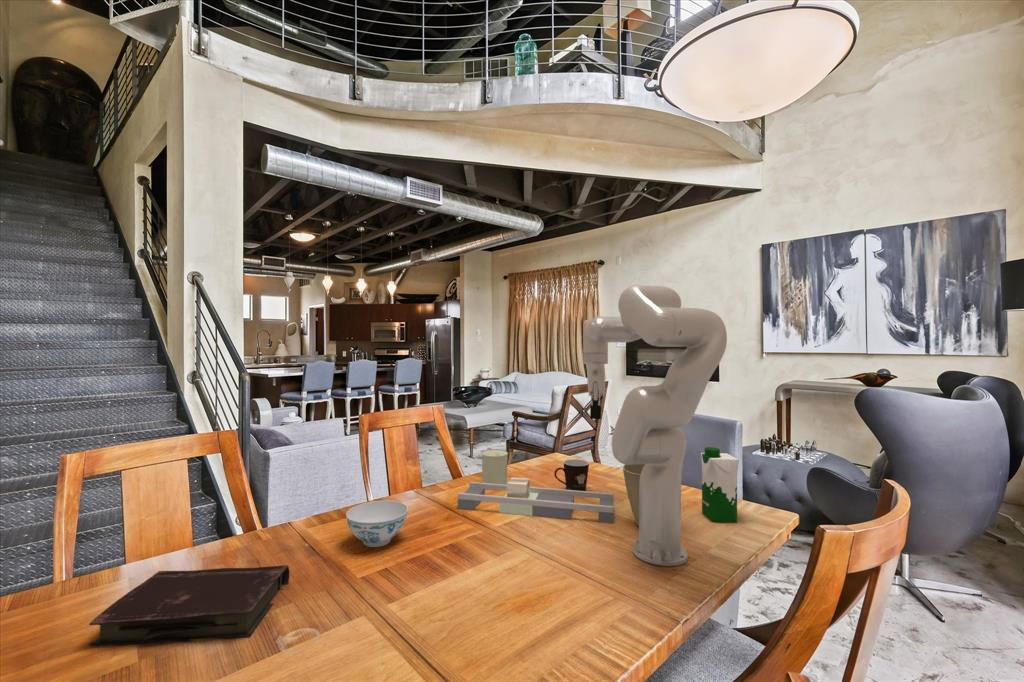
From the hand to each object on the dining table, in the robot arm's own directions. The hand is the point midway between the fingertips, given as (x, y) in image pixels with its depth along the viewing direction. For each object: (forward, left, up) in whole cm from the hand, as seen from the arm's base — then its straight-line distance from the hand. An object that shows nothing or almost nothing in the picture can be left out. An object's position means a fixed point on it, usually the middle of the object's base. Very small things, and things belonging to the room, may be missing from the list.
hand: (595, 418), depth 139 cm
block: (-6, +23, -24) cm, 34 cm away
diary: (-73, +69, -28) cm, 104 cm away
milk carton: (0, -36, -28) cm, 45 cm away
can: (+12, +35, -28) cm, 46 cm away
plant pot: (-11, -16, -28) cm, 33 cm away
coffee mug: (+12, +8, -28) cm, 31 cm away
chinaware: (-38, +52, -28) cm, 70 cm away
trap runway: (-6, +17, -27) cm, 33 cm away
